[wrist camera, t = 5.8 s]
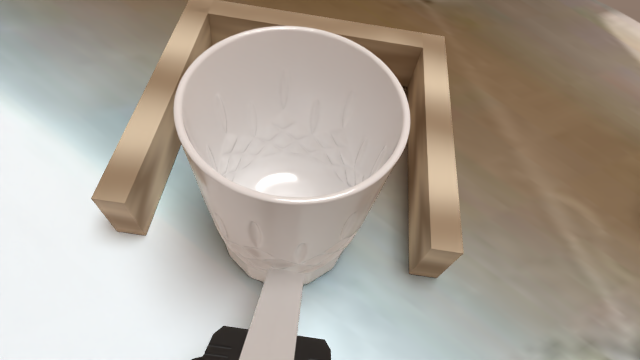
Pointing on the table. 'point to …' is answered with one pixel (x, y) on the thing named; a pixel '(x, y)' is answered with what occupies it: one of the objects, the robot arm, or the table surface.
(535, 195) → the table surface
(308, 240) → the white cup
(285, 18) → the corral
